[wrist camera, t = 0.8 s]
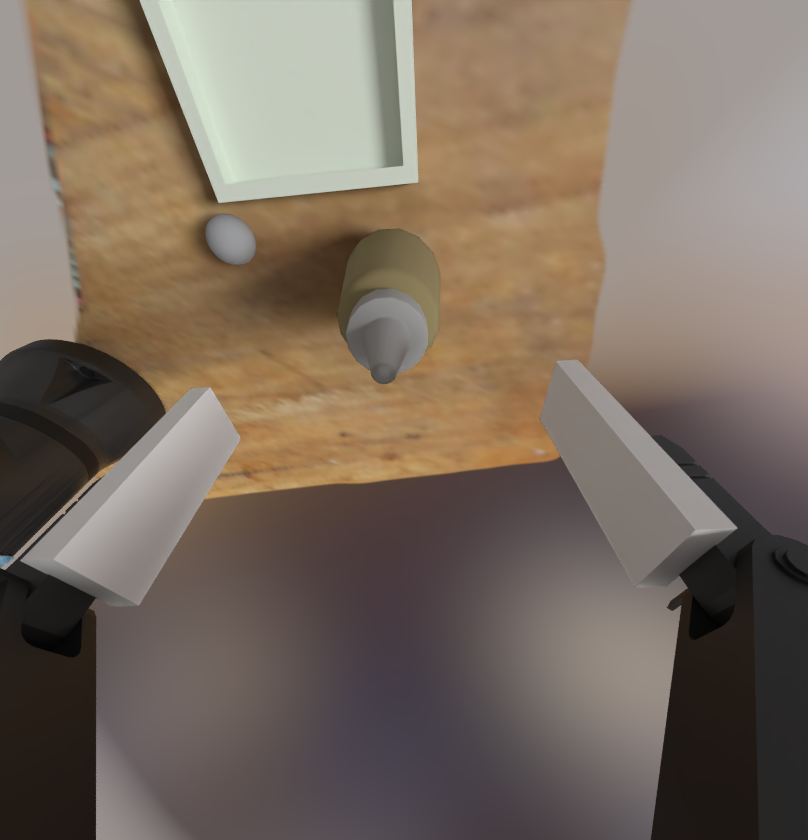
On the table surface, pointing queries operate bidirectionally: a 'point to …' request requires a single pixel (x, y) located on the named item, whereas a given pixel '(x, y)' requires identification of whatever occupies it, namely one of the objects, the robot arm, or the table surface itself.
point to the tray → (293, 91)
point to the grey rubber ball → (230, 239)
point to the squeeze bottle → (390, 302)
